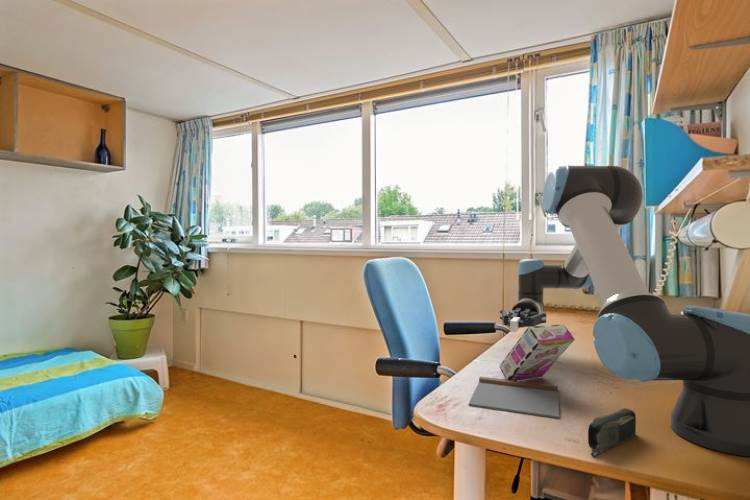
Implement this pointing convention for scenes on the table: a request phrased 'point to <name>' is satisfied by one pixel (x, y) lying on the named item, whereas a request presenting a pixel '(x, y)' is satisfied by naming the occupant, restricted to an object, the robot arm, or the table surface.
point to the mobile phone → (611, 430)
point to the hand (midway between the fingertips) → (513, 326)
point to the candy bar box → (536, 352)
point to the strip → (519, 384)
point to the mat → (516, 399)
